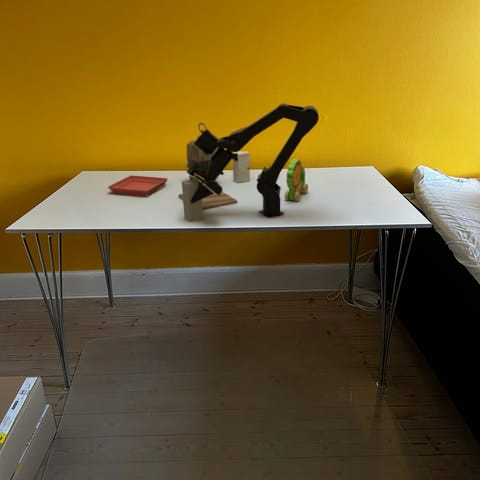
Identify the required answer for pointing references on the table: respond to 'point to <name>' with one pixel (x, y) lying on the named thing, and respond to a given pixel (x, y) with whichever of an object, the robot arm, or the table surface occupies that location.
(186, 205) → the tall taupe box
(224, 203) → the walnut board
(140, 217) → the table surface
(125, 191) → the plant saucer
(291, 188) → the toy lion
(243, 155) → the skincare box
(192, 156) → the tabletop clock
